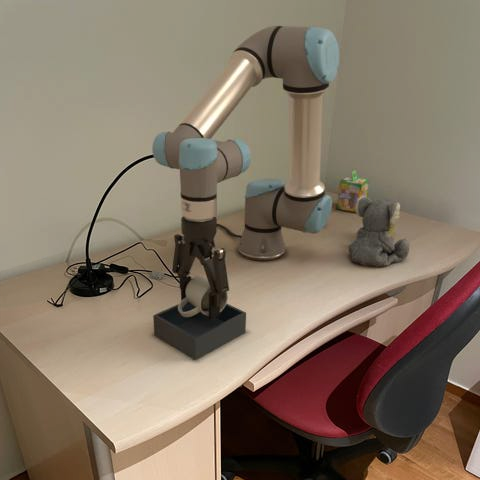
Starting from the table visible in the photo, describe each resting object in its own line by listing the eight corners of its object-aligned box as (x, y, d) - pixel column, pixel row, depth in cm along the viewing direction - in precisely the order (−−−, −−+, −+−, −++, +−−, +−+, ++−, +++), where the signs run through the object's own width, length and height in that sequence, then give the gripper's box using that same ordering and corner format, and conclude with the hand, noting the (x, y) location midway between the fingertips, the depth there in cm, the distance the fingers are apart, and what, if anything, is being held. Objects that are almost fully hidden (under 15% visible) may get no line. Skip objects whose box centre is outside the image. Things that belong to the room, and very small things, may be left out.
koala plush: (411, 259, 166) (423, 199, 156) (379, 275, 155) (390, 212, 145) (365, 243, 177) (375, 186, 167) (333, 257, 166) (341, 197, 156)
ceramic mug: (209, 297, 126) (208, 268, 122) (228, 311, 121) (228, 281, 117) (171, 309, 121) (169, 280, 117) (189, 324, 115) (187, 294, 111)
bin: (154, 335, 123) (153, 315, 120) (204, 311, 133) (204, 292, 131) (195, 360, 115) (195, 339, 112) (245, 332, 125) (246, 312, 122)
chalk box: (357, 213, 203) (363, 175, 196) (336, 209, 207) (340, 172, 200) (365, 207, 210) (371, 170, 203) (344, 203, 214) (349, 167, 207)
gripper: (152, 208, 113) (158, 299, 124) (222, 234, 101) (221, 333, 112) (178, 200, 118) (181, 289, 129) (248, 225, 105) (244, 320, 117)
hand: (200, 309), depth 121 cm, fingers closed on ceramic mug, 9 cm apart
